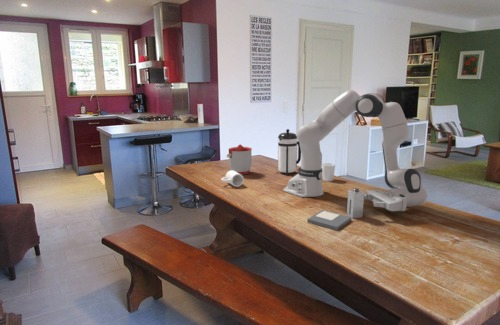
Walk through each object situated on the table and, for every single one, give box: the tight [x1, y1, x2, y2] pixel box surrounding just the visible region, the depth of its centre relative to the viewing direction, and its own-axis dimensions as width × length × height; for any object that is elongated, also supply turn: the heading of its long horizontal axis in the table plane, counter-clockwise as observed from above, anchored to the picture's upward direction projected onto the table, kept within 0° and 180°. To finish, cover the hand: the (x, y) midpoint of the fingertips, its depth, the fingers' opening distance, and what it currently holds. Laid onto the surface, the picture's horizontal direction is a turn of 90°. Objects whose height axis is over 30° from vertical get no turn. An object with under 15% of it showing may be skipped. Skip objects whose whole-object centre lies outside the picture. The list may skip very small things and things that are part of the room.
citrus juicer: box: [226, 143, 253, 176], centre depth 233 cm, size 16×17×20 cm
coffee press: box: [276, 128, 301, 177], centre depth 233 cm, size 17×16×30 cm
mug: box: [221, 169, 245, 188], centre depth 207 cm, size 12×10×8 cm
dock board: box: [307, 209, 352, 231], centre depth 152 cm, size 14×14×2 cm
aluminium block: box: [346, 188, 365, 219], centre depth 157 cm, size 5×5×13 cm
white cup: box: [322, 162, 336, 182], centre depth 216 cm, size 8×8×10 cm
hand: (367, 201), depth 159 cm, fingers open, 8 cm apart
